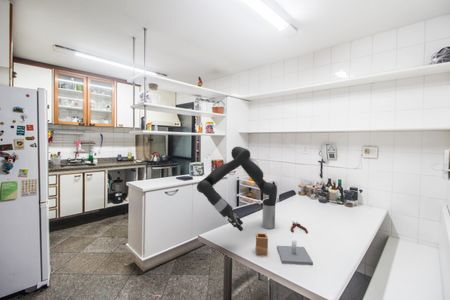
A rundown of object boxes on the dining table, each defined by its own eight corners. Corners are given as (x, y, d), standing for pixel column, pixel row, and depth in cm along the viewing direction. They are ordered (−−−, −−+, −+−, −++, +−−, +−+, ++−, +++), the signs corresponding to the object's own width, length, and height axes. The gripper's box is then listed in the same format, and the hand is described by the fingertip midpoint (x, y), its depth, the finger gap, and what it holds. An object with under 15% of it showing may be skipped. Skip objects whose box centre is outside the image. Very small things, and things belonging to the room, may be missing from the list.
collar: (255, 249, 127) (256, 233, 127) (266, 249, 127) (266, 233, 126) (256, 254, 121) (256, 237, 120) (267, 255, 121) (267, 238, 120)
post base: (276, 247, 129) (277, 234, 129) (303, 249, 128) (304, 235, 128) (282, 263, 113) (282, 247, 113) (312, 265, 112) (313, 249, 112)
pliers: (301, 223, 169) (301, 219, 169) (308, 234, 149) (308, 230, 149) (286, 222, 171) (287, 219, 171) (291, 233, 151) (291, 229, 151)
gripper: (226, 206, 117) (247, 227, 116) (228, 199, 131) (246, 218, 131) (216, 215, 117) (237, 236, 117) (219, 207, 131) (237, 226, 131)
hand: (242, 227), depth 124 cm, fingers open, 8 cm apart
